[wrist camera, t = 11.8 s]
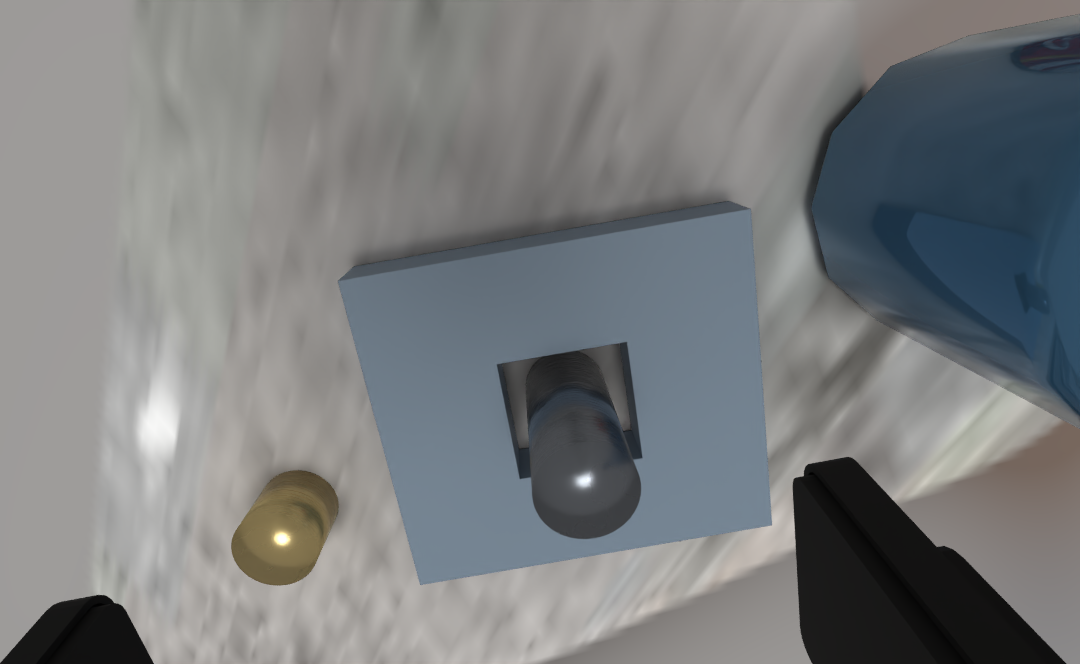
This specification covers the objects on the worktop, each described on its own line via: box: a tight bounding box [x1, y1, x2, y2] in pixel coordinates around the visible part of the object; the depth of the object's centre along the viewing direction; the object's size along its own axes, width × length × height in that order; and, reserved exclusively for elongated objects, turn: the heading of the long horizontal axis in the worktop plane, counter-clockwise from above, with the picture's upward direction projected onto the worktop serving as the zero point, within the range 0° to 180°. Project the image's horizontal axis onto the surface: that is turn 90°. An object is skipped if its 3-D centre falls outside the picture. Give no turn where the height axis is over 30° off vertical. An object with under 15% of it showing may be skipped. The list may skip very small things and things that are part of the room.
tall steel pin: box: [526, 351, 641, 539], centre depth 29 cm, size 4×4×10 cm
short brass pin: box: [231, 471, 339, 585], centre depth 33 cm, size 4×4×4 cm
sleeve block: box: [338, 201, 772, 585], centre depth 32 cm, size 16×18×3 cm
